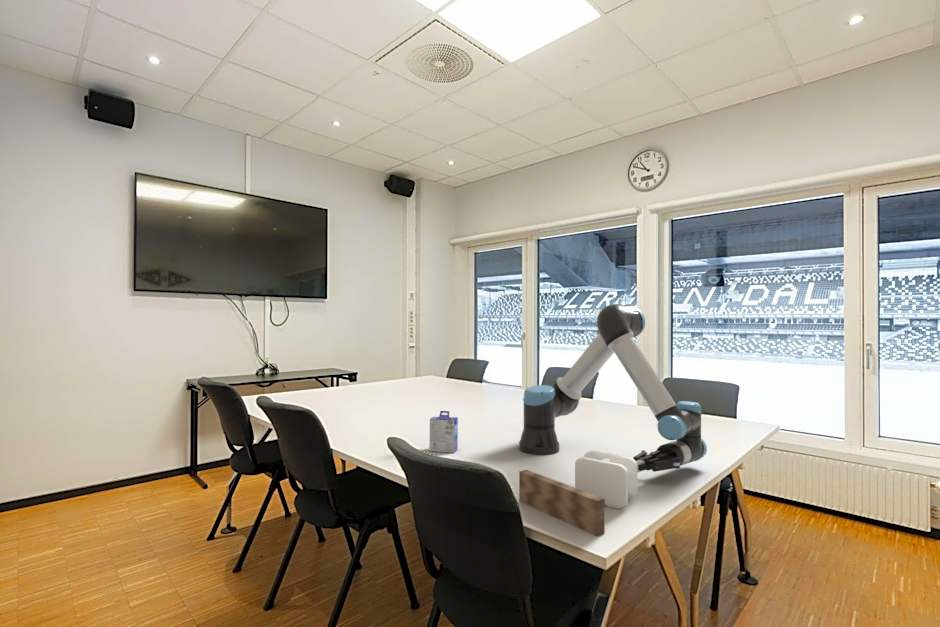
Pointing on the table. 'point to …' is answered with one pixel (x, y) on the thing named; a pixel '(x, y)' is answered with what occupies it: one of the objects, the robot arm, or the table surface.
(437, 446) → the ink cartridge box
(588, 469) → the tooth protector case
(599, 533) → the walnut board
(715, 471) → the table surface
